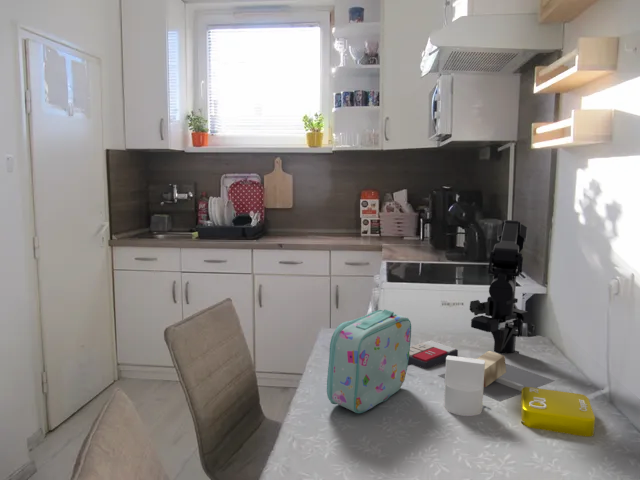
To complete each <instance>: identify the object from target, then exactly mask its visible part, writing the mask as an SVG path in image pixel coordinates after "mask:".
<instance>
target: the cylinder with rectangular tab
mask: <svg viewBox="0 0 640 480" xmlns="http://www.w3.org/2000/svg"><path fill="white" fill-rule="evenodd" d="M484 371H485V360H480V359H477V358H472V357H465V356H464V357H463V356H458V357H457V356H449V355H448V356H447V357H446V362H445V372H444V374H445V379H444V392H443V393H444V394H443V408H444V409H445V410H446V411H448V412H449V413H451V414H454V415H458V416H462V417H463V416H465V417H470V416H472V417H473V416H478V415H479V414H481V413H482V411H483V400H484V399H483V398H484V395H483V387H484Z"/></svg>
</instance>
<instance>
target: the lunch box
mask: <svg viewBox="0 0 640 480" xmlns="http://www.w3.org/2000/svg"><path fill="white" fill-rule="evenodd" d="M411 339H412V321H411V320H410V318H408V317H406V316H403V315H401V314H400V315H399V314H397V313H394V311H391V310H388V309H377V310H375V311H372V312H370V313H368V314H366V315H362V316H360V317H357V318H355V319H352V320H347V321H343V322H342V323H340V324H339V325H337V327H336V329H335V330H334V332H333V334H332V336H331V338H330V342H329V343H330V344H329V354H328V356H329V357H328V366H327V367H328V368H327V369H328V370H327V379H326V395H327V398H328V400H329V402H330V403H331V404H332V405H338V406H340V407H343V408H346V409H347V410H350V411H351V412H354V413H355V414H363V413H366V412H367V411H369V410H370V409H372V408H374V407H376V405H378V404H380V403H382V402H386V401H388V399H389V398H390V397H392V396H393V395H394V394H396V393H397V392H399V391H400V390H401V387H402V386H403V384H404V383H405V379H406V374H407V371H408V367H409V365H408V360H409V352H410V347H411V342H412V341H411Z"/></svg>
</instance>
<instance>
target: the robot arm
mask: <svg viewBox="0 0 640 480" xmlns="http://www.w3.org/2000/svg"><path fill="white" fill-rule="evenodd" d="M496 233H497V234H496V239H497V241H499V242H497V243H495V244H494V246H493V250H491V251H490V255H489V261H488V262H489V263H488V271H487V274H488V275H493V276H492V281H491V283H490V285H489V287H488V292H489V293H488V294H489V296H488V297H487V300H486V301H483V302H480V300H479V299H474V300H471V301H470V302H469V310H470V313H473V314H474V317H473V318H471V319H470V321H471V322H470V328H472V329H474V330H475V329H476V330H478V331H482V332H486V333H491V335H492V337H493V342H494V343H493V352H495V353H498V354H501V355H503V354H513V353H515V354H520V351H519V350H517V349H516V340H517V337H518V338H520V337H522V336H523V329H524V328H523V327H524V326H523V325H524V324H528V323H531V320H532V315H531V313H530V312H529V311H527V310H523V309H521V308H520V309H519V308H518V307H517V305H516V304H517V303H518V301H519V300H518V298H516V286H517V277H518V278H519V277H520V274H522V273H523V265H524V257H523V254H522V250H523V249H524V247H525V243H527V239H528V227H527V226H526V225H524V224H523V223H522V222H521V221H519V220H514V219H505V220H502V223H500V224H499V225H497V232H496ZM483 314H484V315H483Z"/></svg>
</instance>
